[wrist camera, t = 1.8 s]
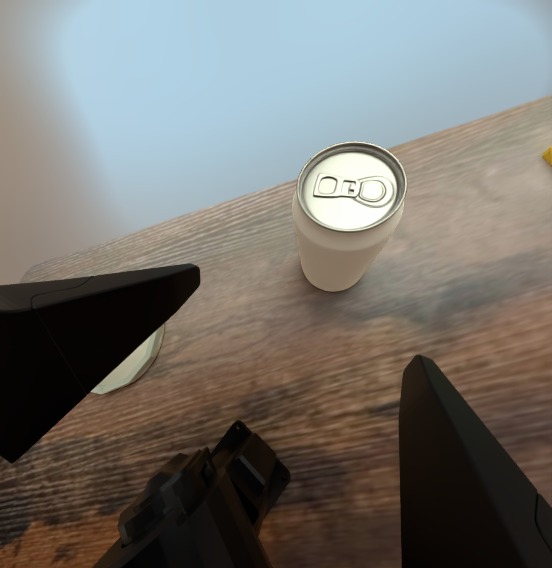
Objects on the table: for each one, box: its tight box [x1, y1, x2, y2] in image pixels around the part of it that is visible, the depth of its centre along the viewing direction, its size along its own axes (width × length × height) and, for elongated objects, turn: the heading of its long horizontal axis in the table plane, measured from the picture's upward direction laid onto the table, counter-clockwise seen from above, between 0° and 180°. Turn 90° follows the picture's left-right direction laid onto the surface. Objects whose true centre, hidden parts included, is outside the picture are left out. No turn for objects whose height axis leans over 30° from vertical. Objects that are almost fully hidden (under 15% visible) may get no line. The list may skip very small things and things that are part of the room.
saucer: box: [91, 324, 165, 394], centre depth 24 cm, size 12×12×1 cm
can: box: [292, 141, 407, 292], centre depth 17 cm, size 6×6×12 cm
